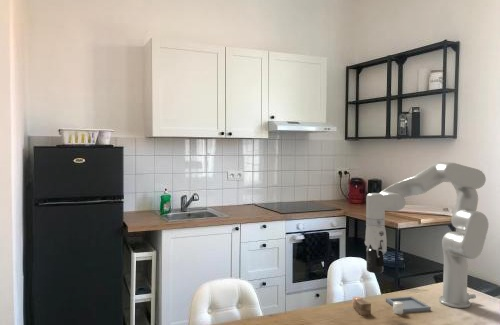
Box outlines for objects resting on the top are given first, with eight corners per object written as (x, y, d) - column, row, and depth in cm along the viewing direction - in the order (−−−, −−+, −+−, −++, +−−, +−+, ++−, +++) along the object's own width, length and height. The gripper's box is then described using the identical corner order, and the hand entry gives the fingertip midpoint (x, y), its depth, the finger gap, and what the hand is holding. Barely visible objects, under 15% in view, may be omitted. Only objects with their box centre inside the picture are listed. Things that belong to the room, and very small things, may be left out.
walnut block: (365, 310, 170) (365, 299, 170) (370, 314, 166) (370, 303, 166) (355, 311, 169) (355, 300, 169) (360, 315, 165) (360, 304, 165)
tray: (411, 299, 183) (411, 296, 183) (430, 310, 171) (430, 307, 171) (385, 301, 180) (385, 298, 180) (403, 312, 168) (403, 309, 168)
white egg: (399, 310, 170) (399, 301, 170) (405, 314, 166) (405, 304, 166) (390, 311, 169) (391, 301, 169) (396, 314, 166) (396, 305, 166)
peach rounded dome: (359, 305, 175) (359, 296, 175) (364, 309, 171) (364, 299, 171) (351, 306, 174) (351, 297, 174) (355, 309, 170) (355, 300, 170)
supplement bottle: (384, 274, 168) (384, 245, 168) (367, 273, 170) (367, 244, 170) (382, 269, 175) (382, 241, 175) (365, 268, 177) (366, 241, 176)
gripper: (395, 225, 164) (394, 269, 165) (372, 218, 181) (372, 258, 182) (378, 226, 163) (378, 270, 163) (357, 219, 180) (356, 259, 180)
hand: (374, 263), depth 172 cm, fingers closed on supplement bottle, 6 cm apart
